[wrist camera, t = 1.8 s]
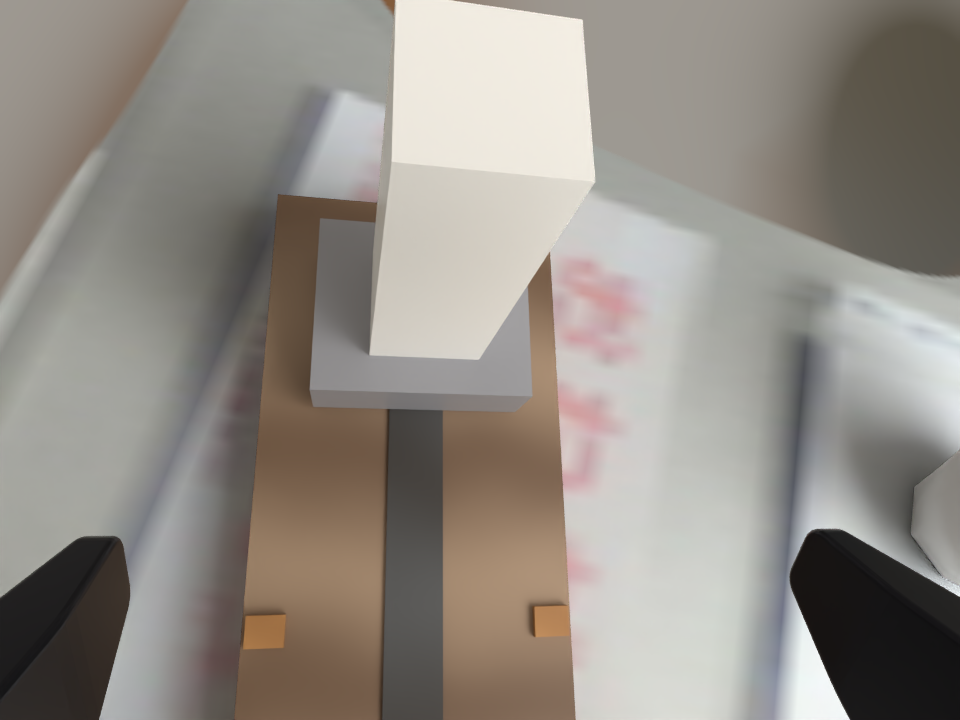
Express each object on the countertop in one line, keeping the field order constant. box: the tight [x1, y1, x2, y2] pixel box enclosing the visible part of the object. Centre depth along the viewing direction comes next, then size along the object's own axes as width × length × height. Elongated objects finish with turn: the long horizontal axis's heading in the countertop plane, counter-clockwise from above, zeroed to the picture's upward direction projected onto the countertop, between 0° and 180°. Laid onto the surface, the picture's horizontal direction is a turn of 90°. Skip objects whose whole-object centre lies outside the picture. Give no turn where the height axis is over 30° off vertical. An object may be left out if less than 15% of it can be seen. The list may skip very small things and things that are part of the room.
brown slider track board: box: [234, 194, 576, 720], centre depth 20 cm, size 18×9×2 cm, turn 1°
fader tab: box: [310, 0, 595, 412], centre depth 15 cm, size 5×6×11 cm
